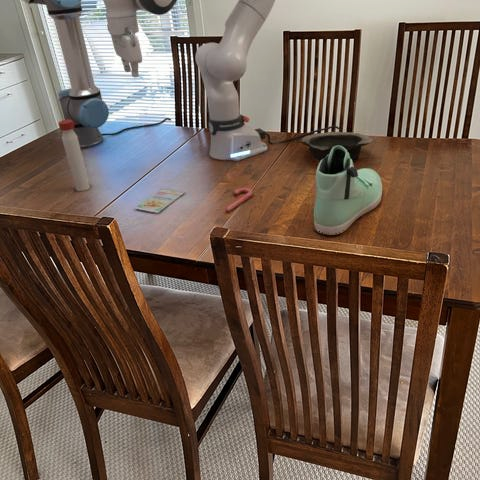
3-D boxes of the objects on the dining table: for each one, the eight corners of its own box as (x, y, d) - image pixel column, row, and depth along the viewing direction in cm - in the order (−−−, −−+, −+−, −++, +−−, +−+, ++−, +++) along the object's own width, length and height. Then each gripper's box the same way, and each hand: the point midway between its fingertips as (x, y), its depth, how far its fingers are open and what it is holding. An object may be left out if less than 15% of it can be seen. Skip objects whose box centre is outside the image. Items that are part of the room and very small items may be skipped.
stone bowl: (329, 177, 157) (328, 150, 153) (288, 159, 177) (286, 135, 173) (387, 158, 166) (388, 132, 161) (342, 144, 186) (341, 120, 182)
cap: (69, 130, 151) (67, 124, 150) (57, 130, 152) (55, 123, 151) (76, 126, 155) (75, 119, 154) (64, 126, 156) (63, 119, 155)
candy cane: (212, 209, 144) (212, 204, 144) (241, 189, 154) (240, 185, 154) (228, 213, 141) (228, 209, 140) (256, 193, 151) (256, 189, 151)
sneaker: (389, 187, 148) (396, 123, 138) (356, 242, 123) (361, 168, 112) (346, 181, 154) (350, 119, 144) (306, 232, 129) (307, 161, 118)
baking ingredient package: (134, 207, 147) (161, 188, 159) (134, 208, 148) (161, 189, 159) (157, 212, 144) (184, 192, 155) (158, 213, 144) (184, 193, 155)
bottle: (85, 191, 162) (68, 125, 150) (73, 190, 163) (55, 125, 151) (92, 185, 166) (76, 120, 154) (80, 184, 167) (63, 120, 155)
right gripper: (142, 28, 137) (150, 78, 144) (125, 22, 153) (133, 67, 160) (121, 31, 135) (130, 81, 142) (105, 24, 151) (114, 70, 158)
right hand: (131, 74), depth 151 cm, fingers open, 8 cm apart
